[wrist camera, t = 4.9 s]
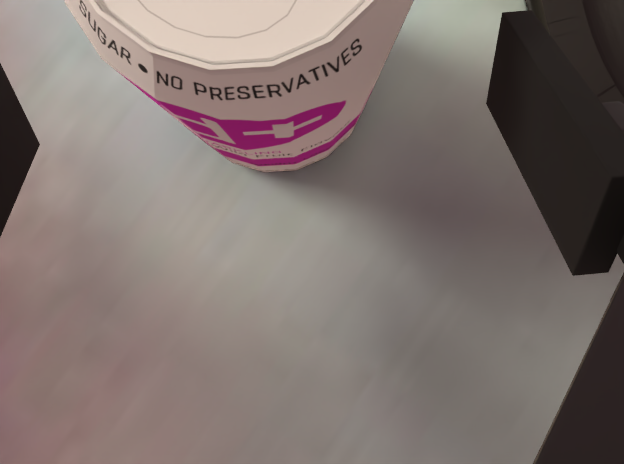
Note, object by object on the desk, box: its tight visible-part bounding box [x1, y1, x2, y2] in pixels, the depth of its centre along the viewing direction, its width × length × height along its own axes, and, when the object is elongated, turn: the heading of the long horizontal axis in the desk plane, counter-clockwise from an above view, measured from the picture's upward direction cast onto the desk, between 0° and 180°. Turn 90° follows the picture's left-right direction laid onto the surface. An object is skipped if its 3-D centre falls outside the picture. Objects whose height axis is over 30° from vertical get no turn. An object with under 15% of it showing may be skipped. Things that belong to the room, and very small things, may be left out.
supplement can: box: [65, 0, 414, 172], centre depth 19 cm, size 8×8×15 cm
